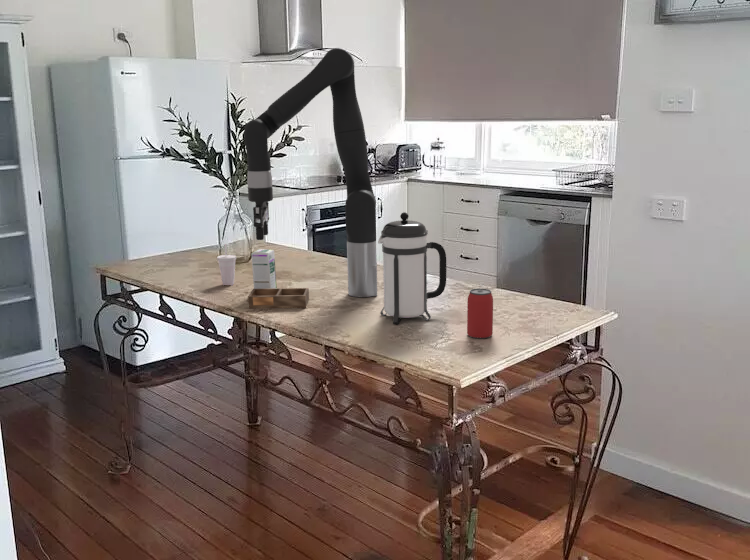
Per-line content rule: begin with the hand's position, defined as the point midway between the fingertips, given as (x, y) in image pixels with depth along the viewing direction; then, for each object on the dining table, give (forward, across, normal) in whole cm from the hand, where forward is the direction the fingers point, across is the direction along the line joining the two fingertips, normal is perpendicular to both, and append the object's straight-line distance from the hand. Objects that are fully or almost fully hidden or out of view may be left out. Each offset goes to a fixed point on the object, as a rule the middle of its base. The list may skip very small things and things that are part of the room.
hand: (262, 237), depth 237 cm
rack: (+19, -11, -6) cm, 23 cm away
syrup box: (+19, 0, 0) cm, 19 cm away
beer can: (+18, -44, -63) cm, 79 cm away
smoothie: (+19, +15, +15) cm, 28 cm away
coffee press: (+19, -26, -45) cm, 55 cm away
